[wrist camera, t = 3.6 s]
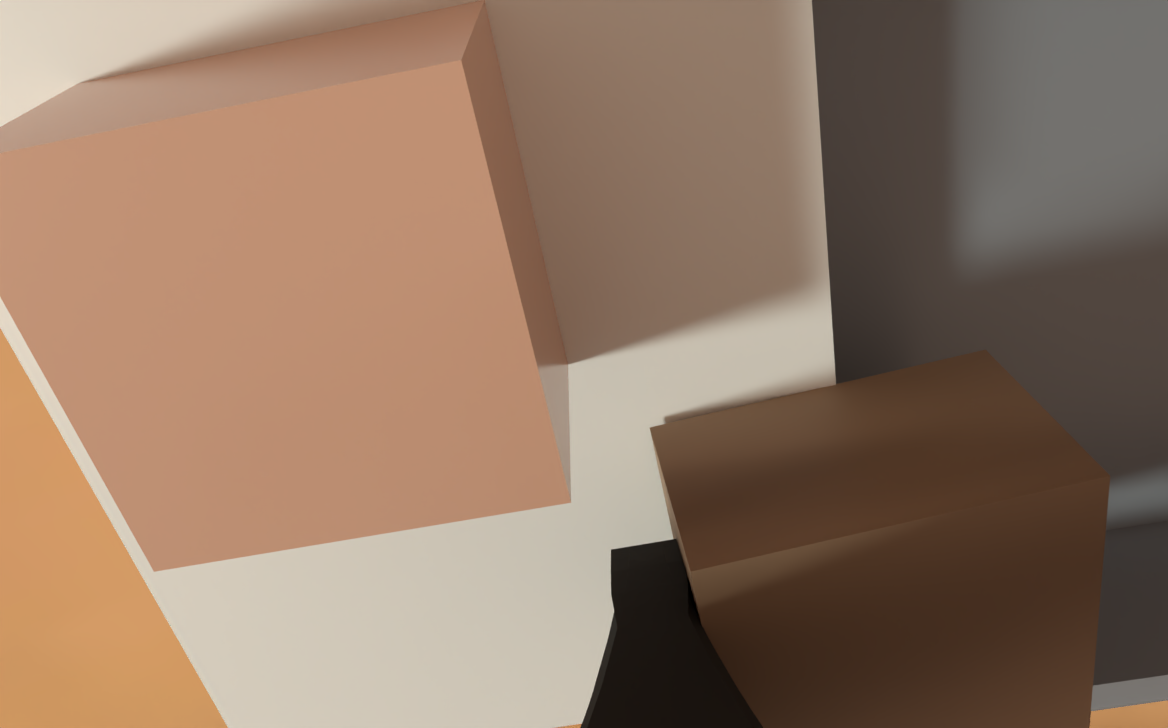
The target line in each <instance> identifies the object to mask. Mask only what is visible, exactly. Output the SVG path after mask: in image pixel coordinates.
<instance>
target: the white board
mask: <svg viewBox="0 0 1168 728" xmlns="http://www.w3.org/2000/svg"><path fill="white" fill-rule="evenodd" d="M475 1H480V0H0V127H1V126H3V125H5V124H6V123H8V122H10V121H12V120H13V119H15V118H17V117H19V116H21V115H22V114H24V113H26V112H28V111H30V110H31V109H33V108H35V107H37V106H38V105H40V104H42V103H44V102H46V101H47V100H49V99H51V98H53V97H54V96H56V95H58V94H60V93H62V92H63V91H65V90H67V89H69V88H71V87H72V86H74V85H76V84H78V83H82V82H87V81H92V80H97V79H102V78H106V77H111V76H116V75H121V74H126V73H131V72H136V71H140V70H145V69H150V68H155V67H160V66H165V65H170V64H174V63H179V62H184V61H189V60H194V59H199V58H204V57H208V56H213V55H218V54H223V53H228V52H233V51H238V50H242V49H247V48H252V47H257V46H262V45H267V44H271V43H276V42H281V41H286V40H291V39H296V38H301V37H305V36H310V35H315V34H320V33H325V32H330V31H335V30H339V29H344V28H349V27H354V26H359V25H364V24H369V23H373V22H378V21H383V20H388V19H393V18H398V17H403V16H407V15H412V14H417V13H422V12H427V11H432V10H437V9H441V8H446V7H451V6H456V5H461V4H466V3H471V2H475ZM485 4H486V8H487V12H488V17H489V21H490V25H491V30H492V34H493V38H494V43H495V47H496V52H497V56H498V60H499V65H500V69H501V73H502V78H503V82H504V87H505V91H506V95H507V100H508V104H509V108H510V113H511V117H512V121H513V126H514V130H515V135H516V139H517V143H518V148H519V152H520V156H521V161H522V165H523V169H524V174H525V178H526V183H527V187H528V191H529V196H530V200H531V204H532V209H533V213H534V217H535V222H536V226H537V231H538V235H539V239H540V244H541V248H542V252H543V257H544V261H545V266H546V270H547V274H548V279H549V283H550V287H551V292H552V296H553V300H554V305H555V309H556V314H557V318H558V322H559V327H560V331H561V335H562V340H563V344H564V348H565V353H566V357H567V362H568V379H569V425H570V471H571V503H566V504H560V505H554V506H548V507H542V508H536V509H530V510H524V511H518V512H512V513H506V514H500V515H494V516H488V517H482V518H475V519H469V520H463V521H457V522H451V523H445V524H439V525H433V526H427V527H421V528H415V529H409V530H403V531H397V532H391V533H385V534H379V535H373V536H367V537H361V538H355V539H349V540H343V541H337V542H331V543H325V544H319V545H312V546H306V547H300V548H294V549H288V550H282V551H276V552H270V553H264V554H258V555H252V556H246V557H240V558H234V559H228V560H222V561H216V562H210V563H204V564H198V565H192V566H186V567H180V568H174V569H168V570H162V571H156V572H154V571H153V569H152V567H151V566H150V564H149V562H148V560H147V558H146V557H145V555H144V553H143V551H142V550H141V548H140V546H139V544H138V542H137V541H136V539H135V537H134V535H133V533H132V532H131V530H130V528H129V526H128V525H127V523H126V521H125V519H124V517H123V516H122V514H121V512H120V510H119V508H118V507H117V505H116V503H115V501H114V499H113V498H112V496H111V494H110V492H109V491H108V489H107V487H106V485H105V483H104V482H103V480H102V478H101V476H100V474H99V473H98V471H97V469H96V467H95V465H94V464H93V462H92V460H91V458H90V457H89V455H88V453H87V451H86V449H85V448H84V446H83V444H82V442H81V440H80V439H79V437H78V435H77V433H76V432H75V430H74V428H73V426H72V424H71V423H70V421H69V419H68V417H67V415H66V414H65V412H64V410H63V408H62V406H61V405H60V403H59V401H58V399H57V398H56V396H55V394H54V392H53V390H52V389H51V387H50V385H49V383H48V381H47V380H46V378H45V376H44V374H43V372H42V371H41V369H40V367H39V365H38V364H37V362H36V360H35V358H34V356H33V355H32V353H31V351H30V349H29V347H28V346H27V344H26V342H25V340H24V339H23V337H22V335H21V333H20V331H19V330H18V328H17V326H16V324H15V322H14V321H13V319H12V317H11V315H10V313H9V312H8V310H7V308H6V306H5V305H4V303H3V301H2V299H1V297H0V328H1V330H2V331H3V333H4V335H5V337H6V338H7V340H8V342H9V344H10V345H11V347H12V349H13V351H14V352H15V354H16V356H17V358H18V359H19V361H20V363H21V365H22V367H23V368H24V370H25V372H26V374H27V375H28V377H29V379H30V381H31V382H32V384H33V386H34V388H35V389H36V391H37V393H38V395H39V396H40V398H41V400H42V402H43V403H44V405H45V407H46V409H47V410H48V412H49V414H50V416H51V417H52V419H53V421H54V423H55V424H56V426H57V428H58V430H59V431H60V433H61V435H62V437H63V438H64V440H65V442H66V444H67V446H68V447H69V449H70V451H71V453H72V454H73V456H74V458H75V460H76V461H77V463H78V465H79V467H80V468H81V470H82V472H83V474H84V475H85V477H86V479H87V481H88V482H89V484H90V486H91V488H92V489H93V491H94V493H95V495H96V496H97V498H98V500H99V502H100V503H101V505H102V507H103V509H104V510H105V512H106V514H107V516H108V518H109V519H110V521H111V523H112V525H113V526H114V528H115V530H116V532H117V533H118V535H119V537H120V539H121V540H122V542H123V544H124V546H125V547H126V549H127V551H128V553H129V554H130V556H131V558H132V560H133V561H134V563H135V565H136V567H137V568H138V570H139V572H140V574H141V575H142V577H143V579H144V581H145V582H146V584H147V586H148V588H149V590H150V591H151V593H152V595H153V597H154V598H155V600H156V602H157V604H158V605H159V607H160V609H161V611H162V612H163V614H164V616H165V618H166V619H167V621H168V623H169V625H170V626H171V628H172V630H173V632H174V633H175V635H176V637H177V639H178V640H179V642H180V644H181V646H182V647H183V649H184V651H185V653H186V654H187V656H188V658H189V660H190V662H191V663H192V665H193V667H194V669H195V670H196V672H197V674H198V676H199V677H200V679H201V681H202V683H203V684H204V686H205V688H206V690H207V691H208V693H209V695H210V697H211V698H212V700H213V702H214V704H215V705H216V707H217V709H218V711H219V712H220V714H221V716H222V718H223V719H224V721H225V723H226V725H227V726H228V728H555V727H562V726H568V725H575V724H582V722H583V719H584V717H585V714H586V711H587V708H588V705H589V702H590V699H591V696H592V693H593V690H594V686H595V682H596V679H597V675H598V672H599V668H600V665H601V661H602V658H603V654H604V651H605V647H606V644H607V640H608V636H609V632H610V627H611V623H612V619H613V614H614V607H613V602H612V596H611V549H617V548H623V547H629V546H635V545H641V544H648V543H654V542H660V541H666V540H672V539H673V535H672V530H671V525H670V521H669V516H668V511H667V507H666V502H665V497H664V493H663V488H662V483H661V479H660V474H659V469H658V465H657V460H656V455H655V451H654V446H653V441H652V437H651V432H650V427H654V426H658V425H663V424H667V423H671V422H676V421H680V420H684V419H688V418H693V417H697V416H701V415H706V414H710V413H714V412H719V411H723V410H727V409H732V408H736V407H740V406H744V405H749V404H753V403H757V402H762V401H766V400H770V399H775V398H779V397H783V396H788V395H792V394H796V393H800V392H805V391H809V390H813V389H818V388H822V387H827V386H833V385H836V376H835V360H834V344H833V329H832V313H831V297H830V281H829V265H828V249H827V233H826V218H825V202H824V186H823V170H822V154H821V138H820V122H819V107H818V91H817V75H816V59H815V43H814V27H813V11H812V0H485Z"/></svg>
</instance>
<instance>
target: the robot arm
mask: <svg viewBox="0 0 1168 728" xmlns="http://www.w3.org/2000/svg"><path fill="white" fill-rule="evenodd" d="M611 596H612V602H613V607H614V614H613V619H612V623H611V627H610V632H609V636H608V640H607V644H606V647H605V651H604V654H603V658H602V661H601V665H600V668H599V672H598V675H597V679H596V682H595V686H594V690H593V693H592V696H591V699H590V702H589V705H588V708H587V711H586V714H585V717H584V719H583V722H582V725H581V728H763V726H762V725H761V723H760V722H759V720H758V719H757V717H756V716H755V714H754V713H753V711H752V710H751V708H750V707H749V705H748V704H747V702H746V700H745V699H744V697H743V696H742V694H741V693H740V691H739V689H738V688H737V686H736V685H735V683H734V681H733V679H732V678H731V676H730V674H729V673H728V671H727V669H726V667H725V666H724V664H723V662H722V660H721V659H720V657H719V655H718V654H717V652H716V650H715V648H714V647H713V645H712V643H711V641H710V639H709V638H708V636H707V634H706V632H705V630H704V628H703V627H702V625H701V622H700V620H699V618H698V616H697V614H696V612H695V609H694V607H693V605H692V601H691V595H690V590H689V585H688V580H687V574H686V569H685V565H684V562H683V559H682V556H681V553H680V549H679V546H678V543H677V540H676V539H672V540H666V541H660V542H654V543H648V544H641V545H635V546H629V547H623V548H617V549H611Z"/></svg>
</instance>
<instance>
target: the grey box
mask: <svg viewBox="0 0 1168 728" xmlns="http://www.w3.org/2000/svg"><path fill="white" fill-rule="evenodd" d="M812 11H813V27H814V43H815V59H816V75H817V91H818V107H819V122H820V138H821V154H822V170H823V186H824V202H825V218H826V233H827V249H828V265H829V281H830V297H831V313H832V329H833V344H834V360H835V376H836V384H839V383H844V382H848V381H852V380H856V379H861V378H865V377H869V376H874V375H878V374H882V373H887V372H891V371H895V370H900V369H904V368H908V367H913V366H917V365H921V364H925V363H930V362H934V361H938V360H943V359H947V358H951V357H956V356H960V355H964V354H969V353H973V352H977V351H981V350H986V351H987V352H988V353H989V354H990V355H991V356H992V357H993V358H994V359H995V360H996V361H997V362H998V363H999V364H1000V365H1001V366H1002V367H1003V368H1004V369H1005V370H1006V371H1007V372H1008V373H1009V374H1010V375H1011V376H1012V377H1013V378H1014V379H1015V380H1016V381H1017V382H1018V383H1019V384H1020V385H1021V386H1022V387H1023V388H1024V389H1025V390H1026V391H1027V392H1028V393H1029V394H1030V395H1031V396H1032V397H1033V398H1034V399H1035V400H1036V401H1037V402H1038V403H1039V404H1040V405H1041V406H1042V407H1043V408H1044V409H1045V410H1046V411H1047V412H1048V413H1049V414H1050V415H1051V416H1052V417H1053V418H1054V419H1055V420H1056V421H1057V422H1058V423H1059V424H1060V425H1061V426H1062V427H1063V428H1064V429H1065V430H1066V431H1067V432H1068V433H1069V434H1070V435H1071V436H1072V437H1073V438H1074V439H1075V441H1076V442H1077V443H1078V444H1079V445H1080V446H1081V447H1082V448H1083V449H1084V450H1085V451H1086V452H1087V453H1088V454H1089V455H1090V456H1091V457H1092V458H1093V459H1094V460H1095V461H1096V462H1097V463H1098V464H1099V465H1100V466H1101V467H1102V468H1103V469H1104V470H1105V471H1106V472H1107V473H1108V474H1109V475H1110V486H1109V498H1108V510H1107V522H1106V534H1105V546H1104V558H1103V570H1102V582H1101V594H1100V606H1099V618H1098V630H1097V642H1096V654H1095V666H1094V678H1093V690H1092V702H1091V711H1096V710H1103V709H1110V708H1117V707H1124V706H1130V705H1137V704H1144V703H1151V702H1158V701H1165V700H1168V0H812Z"/></svg>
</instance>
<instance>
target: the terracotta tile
mask: <svg viewBox="0 0 1168 728" xmlns="http://www.w3.org/2000/svg"><path fill="white" fill-rule="evenodd" d="M0 297H1V299H2V301H3V303H4V305H5V306H6V308H7V310H8V312H9V313H10V315H11V317H12V319H13V321H14V322H15V324H16V326H17V328H18V330H19V331H20V333H21V335H22V337H23V339H24V340H25V342H26V344H27V346H28V347H29V349H30V351H31V353H32V355H33V356H34V358H35V360H36V362H37V364H38V365H39V367H40V369H41V371H42V372H43V374H44V376H45V378H46V380H47V381H48V383H49V385H50V387H51V389H52V390H53V392H54V394H55V396H56V398H57V399H58V401H59V403H60V405H61V406H62V408H63V410H64V412H65V414H66V415H67V417H68V419H69V421H70V423H71V424H72V426H73V428H74V430H75V432H76V433H77V435H78V437H79V439H80V440H81V442H82V444H83V446H84V448H85V449H86V451H87V453H88V455H89V457H90V458H91V460H92V462H93V464H94V465H95V467H96V469H97V471H98V473H99V474H100V476H101V478H102V480H103V482H104V483H105V485H106V487H107V489H108V491H109V492H110V494H111V496H112V498H113V499H114V501H115V503H116V505H117V507H118V508H119V510H120V512H121V514H122V516H123V517H124V519H125V521H126V523H127V525H128V526H129V528H130V530H131V532H132V533H133V535H134V537H135V539H136V541H137V542H138V544H139V546H140V548H141V550H142V551H143V553H144V555H145V557H146V558H147V560H148V562H149V564H150V566H151V567H152V569H153V571H154V572H156V571H162V570H168V569H174V568H180V567H186V566H192V565H198V564H204V563H210V562H216V561H222V560H228V559H234V558H240V557H246V556H252V555H258V554H264V553H270V552H276V551H282V550H288V549H294V548H300V547H306V546H312V545H319V544H325V543H331V542H337V541H343V540H349V539H355V538H361V537H367V536H373V535H379V534H385V533H391V532H397V531H403V530H409V529H415V528H421V527H427V526H433V525H439V524H445V523H451V522H457V521H463V520H469V519H475V518H482V517H488V516H494V515H500V514H506V513H512V512H518V511H524V510H530V509H536V508H542V507H548V506H554V505H560V504H566V503H571V471H570V425H569V379H568V362H567V357H566V353H565V348H564V344H563V340H562V335H561V331H560V327H559V322H558V318H557V314H556V309H555V305H554V300H553V296H552V292H551V287H550V283H549V279H548V274H547V270H546V266H545V261H544V257H543V252H542V248H541V244H540V239H539V235H538V231H537V226H536V222H535V217H534V213H533V209H532V204H531V200H530V196H529V191H528V187H527V183H526V178H525V174H524V169H523V165H522V161H521V156H520V152H519V148H518V143H517V139H516V135H515V130H514V126H513V121H512V117H511V113H510V108H509V104H508V100H507V95H506V91H505V87H504V82H503V78H502V73H501V69H500V65H499V60H498V56H497V52H496V47H495V43H494V38H493V34H492V30H491V25H490V21H489V17H488V12H487V8H486V4H485V0H480V1H475V2H471V3H466V4H461V5H456V6H451V7H446V8H441V9H437V10H432V11H427V12H422V13H417V14H412V15H407V16H403V17H398V18H393V19H388V20H383V21H378V22H373V23H369V24H364V25H359V26H354V27H349V28H344V29H339V30H335V31H330V32H325V33H320V34H315V35H310V36H305V37H301V38H296V39H291V40H286V41H281V42H276V43H271V44H267V45H262V46H257V47H252V48H247V49H242V50H238V51H233V52H228V53H223V54H218V55H213V56H208V57H204V58H199V59H194V60H189V61H184V62H179V63H174V64H170V65H165V66H160V67H155V68H150V69H145V70H140V71H136V72H131V73H126V74H121V75H116V76H111V77H106V78H102V79H97V80H92V81H87V82H82V83H78V84H76V85H74V86H72V87H71V88H69V89H67V90H65V91H63V92H62V93H60V94H58V95H56V96H54V97H53V98H51V99H49V100H47V101H46V102H44V103H42V104H40V105H38V106H37V107H35V108H33V109H31V110H30V111H28V112H26V113H24V114H22V115H21V116H19V117H17V118H15V119H13V120H12V121H10V122H8V123H6V124H5V125H3V126H1V127H0Z"/></svg>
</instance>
